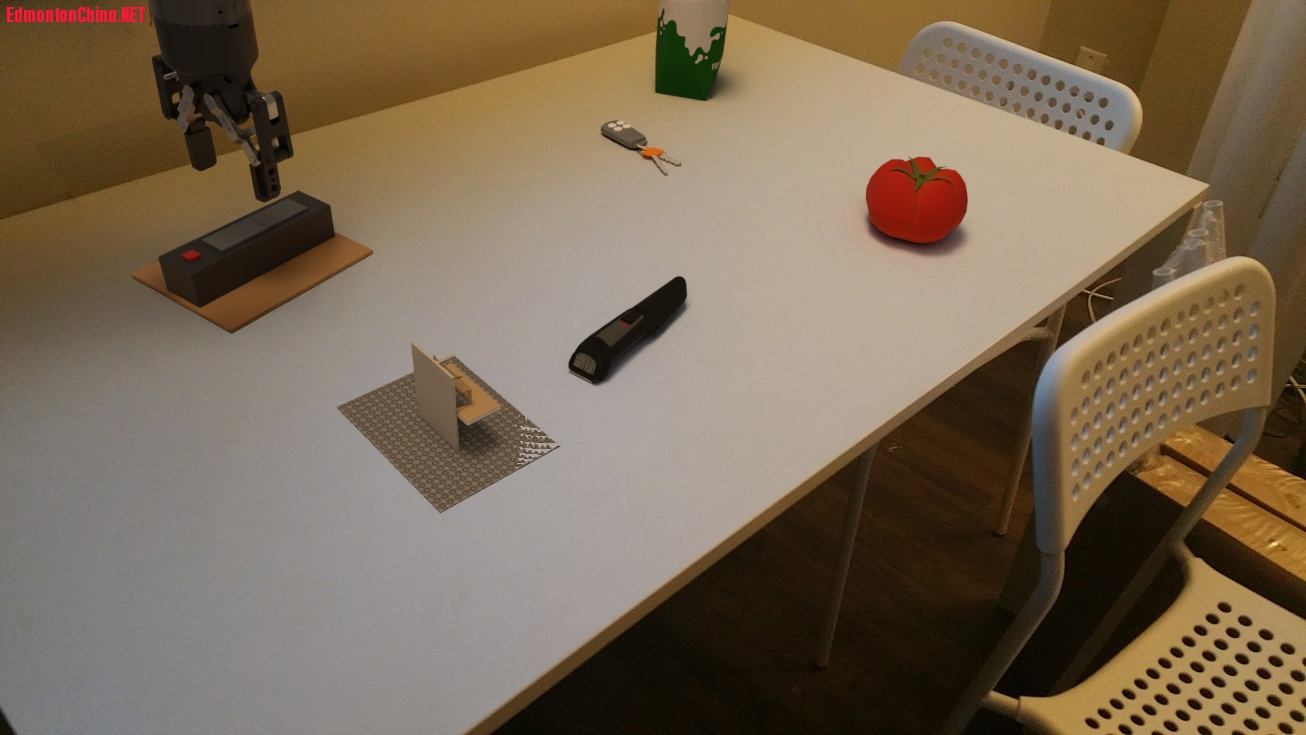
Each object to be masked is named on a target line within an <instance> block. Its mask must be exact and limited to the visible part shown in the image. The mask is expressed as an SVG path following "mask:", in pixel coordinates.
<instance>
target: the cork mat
mask: <svg viewBox="0 0 1306 735" xmlns="http://www.w3.org/2000/svg"><path fill="white" fill-rule="evenodd" d="M334 232H335V236H334V237H332V238H330V239H329V240H327V241H325V242H323V243H321V244H319V245H317V246H315V247H313V248H312V249H310V250H308V251H306V252H304V253H302V254H300V255H298V256H297V257H295V258H293V259H291V260H289V261H287V262H285V263H283V264H282V265H280V266H278V267H276V268H274V269H272V270H270V271H268V272H266V273H265V274H263V275H261V276H259V277H257V278H255V279H253V280H251V281H250V282H248V283H246V284H244V285H242V286H240V287H238V288H236V289H234V290H233V291H231V292H229V293H227V294H225V295H223V296H221V297H219V298H218V299H216V300H214V301H212V302H210V303H208V304H206V305H204V306H203V307H201V308H199V307H197V306H196V305H194V304H192V303H190V302H189V301H187V300H185V299H183V298H181V297H180V296H178V295H176V294H174V293H172V292H171V291H169V290H167V287H166V283H165V280H164V276H163V273H162V269H161V266H160V262H159V259H158V260H157V261H154V262H152V263H150V264H148V265H145V266H144V267H141V268H139V269H137V270H135V271H133V272H131V273H130V276H131V278H133V279H135V280H137V281H138V282H140V283H142V284H143V285H145V286H148V287H149V288H150V289H153V290H154V291H156V292H157V293H160V294H161V295H162V296H165V297H167V298H168V299H169V300H172V301H174V302H175V303H177V304H178V305H180V306H182V307H184V308H186V309H188V310H190V311H192V312H193V313H195V314H197V315H198V316H200V317H202V318H203V319H205V320H207V321H209V322H210V323H213V324H214V325H216V326H218V327H219V328H222V329H223V330H225V331H226V332H228V333H230V334H233V333H234V332H236V331H238V330H240V329H241V328H243V327H245V326H247V325H248V324H251V323H252V322H254V321H255V320H257V319H259V318H261V317H263V316H264V315H266V314H268V313H270V312H271V311H273V310H275V309H277V308H278V307H281V306H283V304H286V303H288V302H290V301H291V300H293V299H295V298H296V297H298V296H301V295H302V294H303V293H305V292H307V291H309V290H311V289H312V288H314V287H316V286H317V285H319V284H321V283H323V282H325V281H326V280H328V279H330V278H333V276H335V275H337V274H338V273H340V272H342V271H343V270H346V269H348V268H350V267H351V266H353V265H354V264H356V263H358V262H360V261H362V260H363V259H365V258H367V257H369V256H370V255H372V254H374V249H372V248H370V247H368V246H365V245H364V244H361V243H359V242H358V241H355V240H353V239H351V238H349V237H347V236H345V235H343V234H341V233H338V232H336V231H334Z"/></svg>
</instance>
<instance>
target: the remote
mask: <svg viewBox="0 0 1306 735" xmlns="http://www.w3.org/2000/svg"><path fill="white" fill-rule="evenodd" d="M335 232H336V231H335V227H334V220H333V214H332V207H331V204H329V203H327V202H324V201H322V200H320V199H318V198H316V197H314V196H311V195H309V194H307V193H306V192H303V191H301V190H296V191H294V192H292V193H289V194H288V195H286V196H283V197H281V198H279V199H277V200H274V201H273V202H270V203H269V204H266V205H264V206H262V207H260V208H258V209H256V210H254V211H252V212H249V213H247V214H246V215H243V216H241V217H238V218H237V219H234V220H233V221H231V222H228V223H226V224H225V225H222V226H220V227H218V228H215V229H213V230H212V231H209V232H206V233H205V234H202V235H201V236H199V237H197V238H195V239H191V240H190V241H189V242H187V243H183V244H182V245H180V246H178V247H176V248H174V249H171V250H170V251H168V252H165V253H163V254H161V255H159V256H158V257H157V258H158V260H159V262H160V266H161V269H162V273H163V276H164V280H165V283H166V287H167V290H169V291H171V292H172V293H174V294H176V295H178V296H180V297H181V298H183V299H185V300H187V301H189V302H190V303H192V304H194V305H196V306H197V307H199V308H201V307H203V306H204V305H206V304H208V303H210V302H212V301H214V300H216V299H218V298H219V297H221V296H223V295H225V294H227V293H229V292H231V291H233V290H234V289H236V288H238V287H240V286H242V285H244V284H246V283H248V282H250V281H251V280H253V279H255V278H257V277H259V276H261V275H263V274H265V273H266V272H268V271H270V270H272V269H274V268H276V267H278V266H280V265H282V264H283V263H285V262H287V261H289V260H291V259H293V258H295V257H297V256H298V255H300V254H302V253H304V252H306V251H308V250H310V249H312V248H313V247H315V246H317V245H319V244H321V243H323V242H325V241H327V240H329V239H330V238H332V237H334V236H335Z"/></svg>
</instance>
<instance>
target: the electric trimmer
mask: <svg viewBox="0 0 1306 735" xmlns="http://www.w3.org/2000/svg"><path fill="white" fill-rule="evenodd" d="M687 297H688V287H687V280H686V279H685V277H683V276H682V275H678V276H675V277H673V278H672V279H671V280H669V281H668V282H666V283H665V284H663V285H662V286H660V287H659V288H658V289H656V290H654V292H652V293H650V294H649V295H648V296H646V297H645V298H643V299H641V301H639V302H638V303H636V304H635V305H634V306H632V307H630V308H628V309H626V310H624V311H623V312H622V313H620V314H619V315H617V316H616V317H614V318H613V319H611V320H610V321H608V322H607V323H606V324H604V325H602V326H601V327H600V328H598V329H597V330H596V331H594V332H592V333H591V334H589V335H588V336H587V337H586V338H584V340H583V341H582V342H580V343H579V345H578V346H577V347H576V348H575V350H574V351H573V353H572V354H571V355H570V358H569V359H568V364H567V365H568V370H569V373H571V374H573V375H575V376H577V377H579V378H581V379H582V380H584V381H586V382H588V383H590V384H592V383H593V382H596V381H599V382H601V381H602V380H604V379H605V378H606V376H607V375H608V373H609V371H610V369H611V366H612V363H613V362H615V361H616V360H617V359H618V358H619V357H620V356H622V355H623V354H624V353H625V352H626V351H628V350H629V349H630V348H631V347H633V345H635V344H636V343H638V341H640V340H641V339H642V338H643V337H645V336H646V337H647V336H654V335H656V334H657V333H658V332H659V331H660V330H661V329H662V328H663V327H664V326H665V325H666V323H667V322H668V321H669V320H670V319H671V318H672V317H673V315H674V314H675V313H676V312H677V311H678V310H679V308H680V307H681V306H682V305H683V304H684V303H685V302H686V300H687Z"/></svg>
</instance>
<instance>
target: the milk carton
mask: <svg viewBox="0 0 1306 735" xmlns="http://www.w3.org/2000/svg"><path fill="white" fill-rule="evenodd" d="M730 3H731V0H658V12H657V24H656V36H655V38H656V40H655V54H654V57H655V58H654V62H655V63H654V65H655V66H654V92H655V93H659V94H660V93H661V94H666V95H671V96H672V95H673V96H676V97H683V98H689V99H694V100H695V99H696V100H700V101H707V99H708V97H709V95H710V94H711V93H710V92H711V91H712V88H713V87H714V85H715V83H716V80H717V77H718V73H719V70H720V67H721V63H722V60H723V57H724V51H725V44H726V37H727V36H726V35H727V28H728V21H729V20H728V19H729V12H730Z"/></svg>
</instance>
